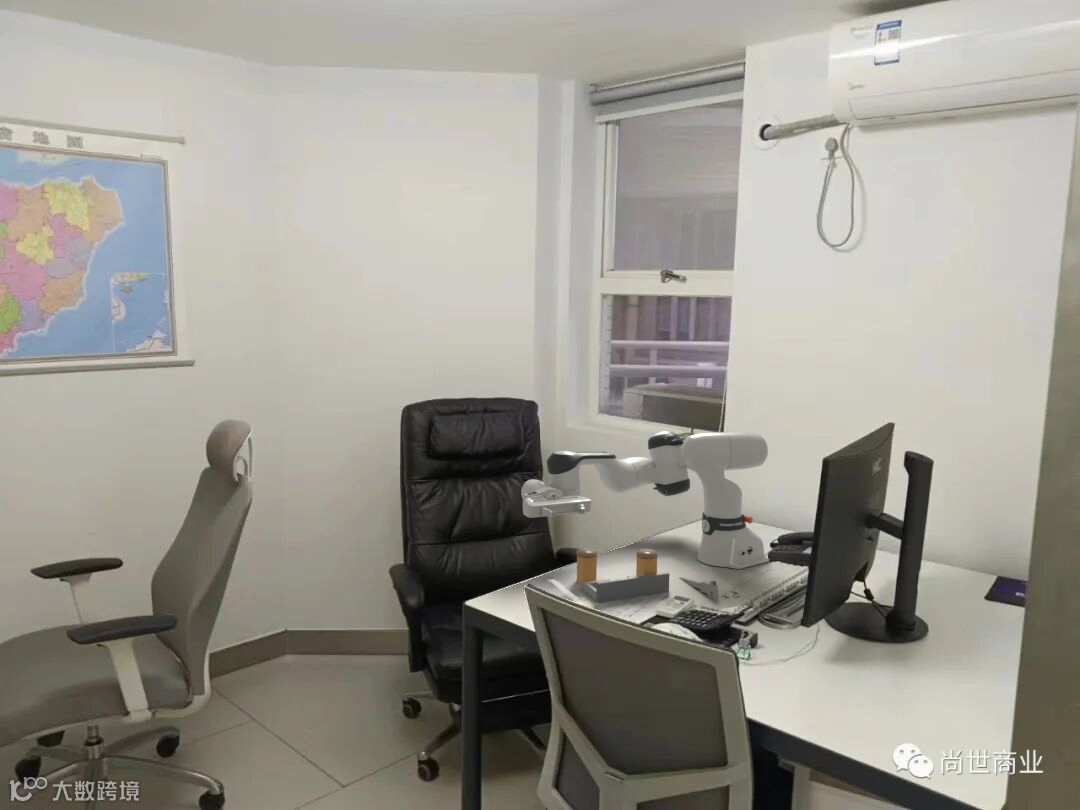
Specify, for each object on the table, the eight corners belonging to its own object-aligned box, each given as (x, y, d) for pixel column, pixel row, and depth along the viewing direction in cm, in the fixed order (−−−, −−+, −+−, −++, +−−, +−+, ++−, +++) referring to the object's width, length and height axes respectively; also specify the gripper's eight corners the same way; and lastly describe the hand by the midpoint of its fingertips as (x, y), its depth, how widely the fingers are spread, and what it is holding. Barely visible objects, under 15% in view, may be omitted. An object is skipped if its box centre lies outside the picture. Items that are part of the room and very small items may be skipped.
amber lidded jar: (591, 581, 225) (591, 547, 223) (600, 587, 219) (600, 553, 218) (572, 583, 222) (573, 549, 221) (581, 590, 217) (582, 555, 216)
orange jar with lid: (650, 582, 220) (650, 547, 219) (660, 589, 215) (661, 554, 214) (632, 585, 218) (632, 550, 217) (642, 592, 213) (643, 556, 212)
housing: (649, 583, 223) (650, 562, 222) (668, 595, 214) (669, 573, 213) (581, 593, 215) (581, 571, 214) (597, 607, 206) (598, 583, 205)
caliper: (718, 606, 208) (719, 582, 207) (714, 606, 207) (715, 583, 206) (678, 580, 227) (679, 558, 226) (675, 580, 226) (675, 558, 225)
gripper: (580, 508, 247) (600, 520, 234) (518, 515, 239) (535, 527, 227) (580, 488, 246) (601, 499, 233) (518, 494, 238) (535, 505, 226)
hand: (568, 513), depth 230 cm, fingers open, 8 cm apart
